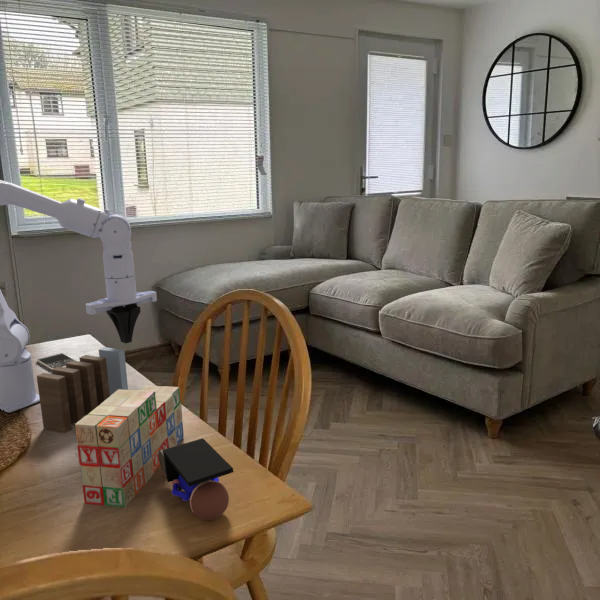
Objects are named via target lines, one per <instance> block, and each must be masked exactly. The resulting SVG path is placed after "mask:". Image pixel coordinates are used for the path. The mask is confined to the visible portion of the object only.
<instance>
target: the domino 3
mask: <svg viewBox="0 0 600 600" xmlns="http://www.w3.org/2000/svg"><path fill="white" fill-rule="evenodd" d="M66 368H71V369H77V370H80V378H81V387H82V395H83V404H84V412H85V416H86V415H88V414H89V413H90V412H91V411H93V410H94V409H95V408H96V407H98V403H97V394H96V385H95V376H94V367H93V364H92V363H85V362H80V360H79V361H77V360H75V361H70V362H68V363H66Z"/></svg>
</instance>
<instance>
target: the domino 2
mask: <svg viewBox="0 0 600 600" xmlns="http://www.w3.org/2000/svg"><path fill="white" fill-rule="evenodd" d="M51 374H55V375H60V376H65V379H66V387H67V395H68V403H69V411H70V419H71V425H75V424H76V423H77V422H78V421H80V420H81V419H82V418H83V417H85V412H84V404H83V395H82V387H81V378H80V370H77V369H71V368H65V367H59V366H58V367H56V368H54V369H52V371H51Z"/></svg>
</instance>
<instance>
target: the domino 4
mask: <svg viewBox="0 0 600 600" xmlns="http://www.w3.org/2000/svg"><path fill="white" fill-rule="evenodd" d="M79 362H85V363H92V364H93V367H94V376H95V385H96V394H97V403H98V406H99V405H100V404H101V403H102V402H104V401H105V400H106V399H107V398H109V397H110V391H109V382H108V373H107V363H106V358H103V357H99V356H97V355H96V356H95V355H87V354H85V355H82V356H79Z"/></svg>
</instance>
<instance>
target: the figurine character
mask: <svg viewBox="0 0 600 600" xmlns="http://www.w3.org/2000/svg"><path fill="white" fill-rule="evenodd" d="M158 457H159V462H160V466H159V467H160V468H161V471H162V473H163V474H164V475H165V478H166V481H167V483H171V486H172V490H171V494H172V495H173V496H175V497H179V498H181V500H182V501H184V502H188V501H189V506H190V510H191V512H192V513H193V514H194V515H195V516H196V517H197V518H198V519H199V520H204V521H212V520H216V519H217V518H219V517H221V516H222V515H223V514H224V513H225V512H226V511H227V509H228V505H229V502H230V499H229V498H230V497H229V492H228V490H227V488H226V487H225V486H224V485H223V484H222V483H221V482H219V481H220V480H219V479H220V478H221V477H223V476H226V475H229V474H232V473H234V467H233V466H232V465H231V464H230V463H228V462H227V461H226V459H224V458H223V456H222V455H221V454H220V453H218V451H217V450H216V449H214V448H213V446H211V444H209V442H208V441H206V440H205V438H203V437H202V438H199V439H195V440H191V441H188V442H186V443H181V444H177V446H175V447H171V448H167V449H163V450H160V451H159V452H158Z"/></svg>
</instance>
